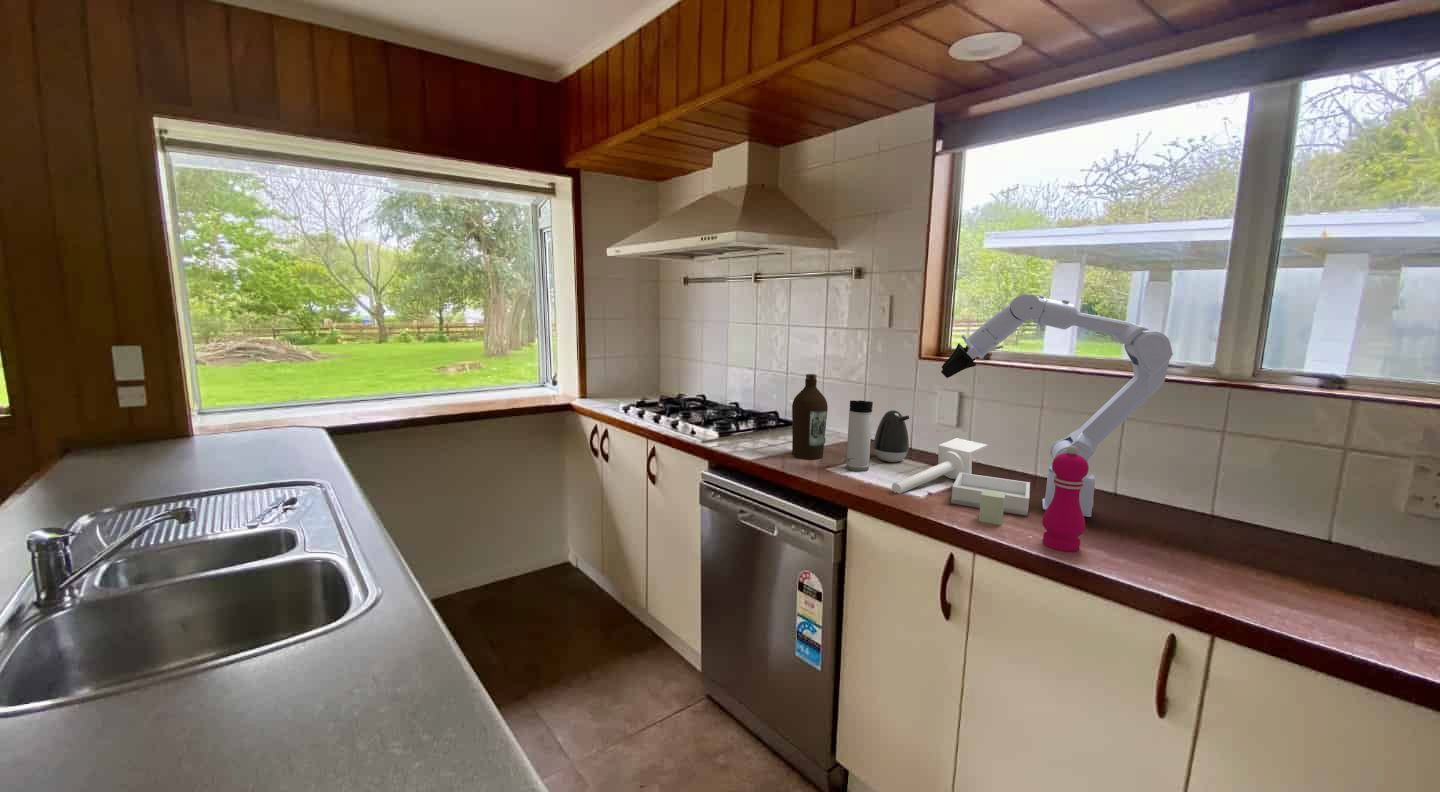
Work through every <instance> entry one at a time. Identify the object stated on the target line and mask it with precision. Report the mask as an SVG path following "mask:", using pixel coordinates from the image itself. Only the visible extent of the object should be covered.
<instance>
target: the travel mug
mask: <svg viewBox="0 0 1440 792" xmlns="http://www.w3.org/2000/svg"><path fill="white" fill-rule="evenodd" d="M848 412H849V413H848V427H847V441H846V442H847V443H846V444H847V445H846V447H847V448H846V462H845V463H846V464H845V467H846V469H847V470H849V471H851V470H852V472H862V471H863V472H868V471H869V469H870V457H871V455H870V454H871V439H872V437H871V436H872V422H873V401H870V400H868V401H867V400H860V399H859V400H849V410H848ZM863 472H862V473H863Z"/></svg>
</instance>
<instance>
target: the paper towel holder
mask: <svg viewBox="0 0 1440 792" xmlns="http://www.w3.org/2000/svg"><path fill="white" fill-rule="evenodd" d="M987 447H988V444H985V443H981V442H976V441H972V440H968V439H964V438H958V437H956V438H953V439H951V440H947V441H945V442H943V443H940V444H938V448H937V449H938V452H937V453H938V457H937V458H938V462H937V463H938V464H936V465H935V466H932V467H930V468H927V469H925V470H922V471H920V472H918V473H916V474H913V475H911V476H908V477H906V478H904V479H901V480H899V481H896V482H894V483H892V485H891V489H892V490H891V491H892V492H893V491H894V492H893V493H896V492H897V493H896V494H899V495H901V494H903V493H905V492H907V491H910V490H912V489H914V488H916V487H919V486H921V485H923V484H925V483H928V482H930V481H931V480H932V481H933V480H935V479H936V478H939V477H942V476H944V475H945V476H944V477H947V478H948V479H952V480H956V479H957V476H958V474H959V472H960V473H967V474H973V473H972V469H973V468H972V467H973V465H972V464H973V454H974V453H976V452H979V451H982V450H983V449H985V448H987Z"/></svg>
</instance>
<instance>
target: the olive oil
mask: <svg viewBox="0 0 1440 792" xmlns="http://www.w3.org/2000/svg"><path fill="white" fill-rule="evenodd" d="M817 380H818V379H817V374H815V373H814V374H813V373H807V374H805V379H804V381H805V383H804V387H803V389H801V391H799V392H798V394H796V396H795V397H794V399H793V401H792V404H791V405H792V406H791V421H792V424H791V425H792V427H791V429H792V431H791V432H792V435H791V437H792V440H791V442H792V446H791V447H792V449H791V451H792V452H791V454H792V457H794V458H797V459H801V460H819V459H822V458H823V457H824V451H825V444H826V428H827V427H826V426H827V419H828V409H829V408H828V401H827V399H826V397H825V396H824V395H823V394H822V392H821V391H820V390H819V389H818V388H817V382H818V381H817Z"/></svg>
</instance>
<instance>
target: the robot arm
mask: <svg viewBox="0 0 1440 792" xmlns="http://www.w3.org/2000/svg"><path fill="white" fill-rule="evenodd" d="M1030 320H1031V321H1032V320H1033V322H1034V323H1035V324H1039V325H1043V326H1048V327H1052V328H1057V329H1060V330H1067V329H1069V328H1071V327H1074V326H1075V327H1079V328H1083V329H1086V330H1087V329H1088V330H1091V331H1095V332H1098V333H1103V334H1106V335H1110V336H1112V337H1113V338H1114V339H1115V340H1116V341H1117V342H1118V343H1120V344H1122V345H1123V347H1124V350H1125V352H1126V354H1127V356H1128V357H1129V359H1130V361H1131V365H1132V373H1133V376H1132V378H1131V379H1130V380H1128V382H1126V383H1125V384H1124V386H1122V387H1121V389H1119V390H1118V391H1117V392H1116V393H1115V394H1114V395H1113V396H1111V398H1110V399H1109V400H1108V401H1107V402H1106V403H1105V404H1103V406H1101V407H1100V408H1099V409H1098V410H1097V411H1096V412H1095V413H1094V414H1093V415H1092V416H1091V417H1090V418H1089V419H1088V420H1087V421H1085V423H1083V425H1081V426H1080V427H1079V428H1078V429H1076V430H1074V431H1071V433H1069V435H1067V436H1066V437H1064V438H1062V439H1059V440H1057V441H1055V442H1053V444H1052V445H1051V447H1050V456H1051V458H1052V460H1054V459H1055V457H1056V456H1058V455H1060V454H1063V453H1068V452H1067V448H1068V447H1069V446H1075V447H1076V448H1077V450H1078V451H1077V453H1076V454H1077V455H1080V456H1082V457H1083V458H1084V459H1085V460H1086V461H1087V463H1088V461H1089V459H1091V457H1092V456H1093V455H1094V454H1095V452H1096V450H1097V449H1098V446H1099V445H1100V444H1101V443H1102V442H1103V440H1105V439H1106V438H1107V437H1108V436H1109V435H1110V434H1111V433H1112V432H1113V431H1115V430H1116V428H1118V427H1119V426H1120V425H1121V424H1122V423H1123V422H1125V421H1126V420H1127V418H1129V417H1130V415H1131V414H1133V413H1134V412H1135V411H1136V410H1137V409H1139V407H1140V406H1142V405H1143V404H1144V403H1145V402H1146V401H1147V400H1148V399H1149V398H1151V396H1153V394H1155V393H1156V392H1157V391H1158V390H1159V389H1160V388H1161V387H1163V386H1164V383H1165V381H1166V377H1167V372H1168V367H1169V363H1170V360H1171V358H1172V356H1173V355H1174V353H1173V350H1172V345H1171V341H1170V339H1169V338H1168V337H1167V335H1165V334H1164V333H1162V332H1159V331H1153V330H1152V331H1150V329H1149V328H1146V327H1144V326H1142V325H1138V324H1135V323H1133V322H1130V321H1125V320H1120V319H1115V318H1111V317H1109V318H1108V317H1105V316H1100V315H1095V314H1090V313H1089V314H1088V313H1084V312H1080V311H1079V310H1078V309H1077V307H1076V306H1075V304H1074V303H1073V304H1072V303H1070V300H1067V299H1062V300H1061V301H1059V300H1055V299H1050V298H1045V295H1041V294H1039V295H1038V296H1037V295H1035V294H1034V293H1032V294H1028V293H1023V294H1020V295H1017V296H1015V297H1013V298H1012V299H1011V301H1010V302H1009V305H1007V306H1005V307H1003V308H1002V309H1001V311H998V312H997V313H995V314H994V315H993V316H992V317H990V319H988V320H987V321H985V322H984V323H983V324H982V325H981V326H979V328H977V329H976V330H975V331H974V332H973V333H971V334H970V335H969V336H968V337H967V336H965V334H963V335H961V338H962V339H963V342H964V343H965V344H966V345H965V346H963V345H962V344H960V342H958V343H957V345H956V347H955V349H954V351H953V353H951V355H950V356H949V357H948V359H947V360H946V361H945V362H944V363H943V365H941V371H940V373H941V374H942V375H943V376H944V377H945V378H946V379H948V378H951V377H952V376H955V375H956V374H958V373H960V372H961V371H964V370H966V369H969V368H974V367H977V363H975V361H976V360H977V359H976V358H977V357H978V358H980V359H984V358H985V356H986V355H987V354H988V353H990V352H991V351H992V350H993V349H995V348H996V347H997V346H998V345H1000V343H1002V342H1003V341H1005V340H1006V339H1007V338H1008V337H1010V336H1011V335H1012V334H1013V333H1015V332H1016V331H1017V329H1018V328H1019V327H1020V326H1022V325H1023V324H1024V323H1025V322H1026V321H1030ZM1054 476H1056V474H1055V473H1054V471H1053V469H1052V464H1050V465H1048V470H1047V478H1046V479H1047V480H1046V488H1045V495H1044V496H1045V497H1044V498H1042V509H1043V510H1044V511H1046V509H1047V508H1048V506H1049V505H1050V503H1051V502H1052V500H1053V497H1054V493H1055V484H1054V483H1053V481H1054ZM1082 480H1083V481H1084V483H1083V488H1082V489H1080V494H1079V502H1080V507H1081V510H1082V513H1083V516H1084V517H1088V518H1091V517H1092V512H1093V511H1092V509H1093V507H1094V495H1095V484H1096V476H1095V475H1093V474H1089V473H1087V475H1086V476H1085V477H1084V478H1083V479H1082Z"/></svg>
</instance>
